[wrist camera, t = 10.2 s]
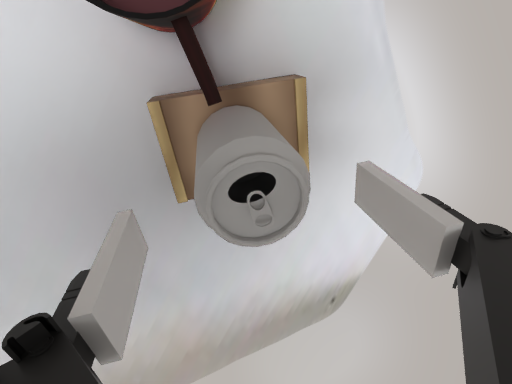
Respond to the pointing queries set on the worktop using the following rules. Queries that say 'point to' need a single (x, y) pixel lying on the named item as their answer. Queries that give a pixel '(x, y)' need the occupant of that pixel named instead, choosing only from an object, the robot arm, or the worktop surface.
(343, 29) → the worktop surface
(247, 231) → the can
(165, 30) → the mug
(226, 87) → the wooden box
